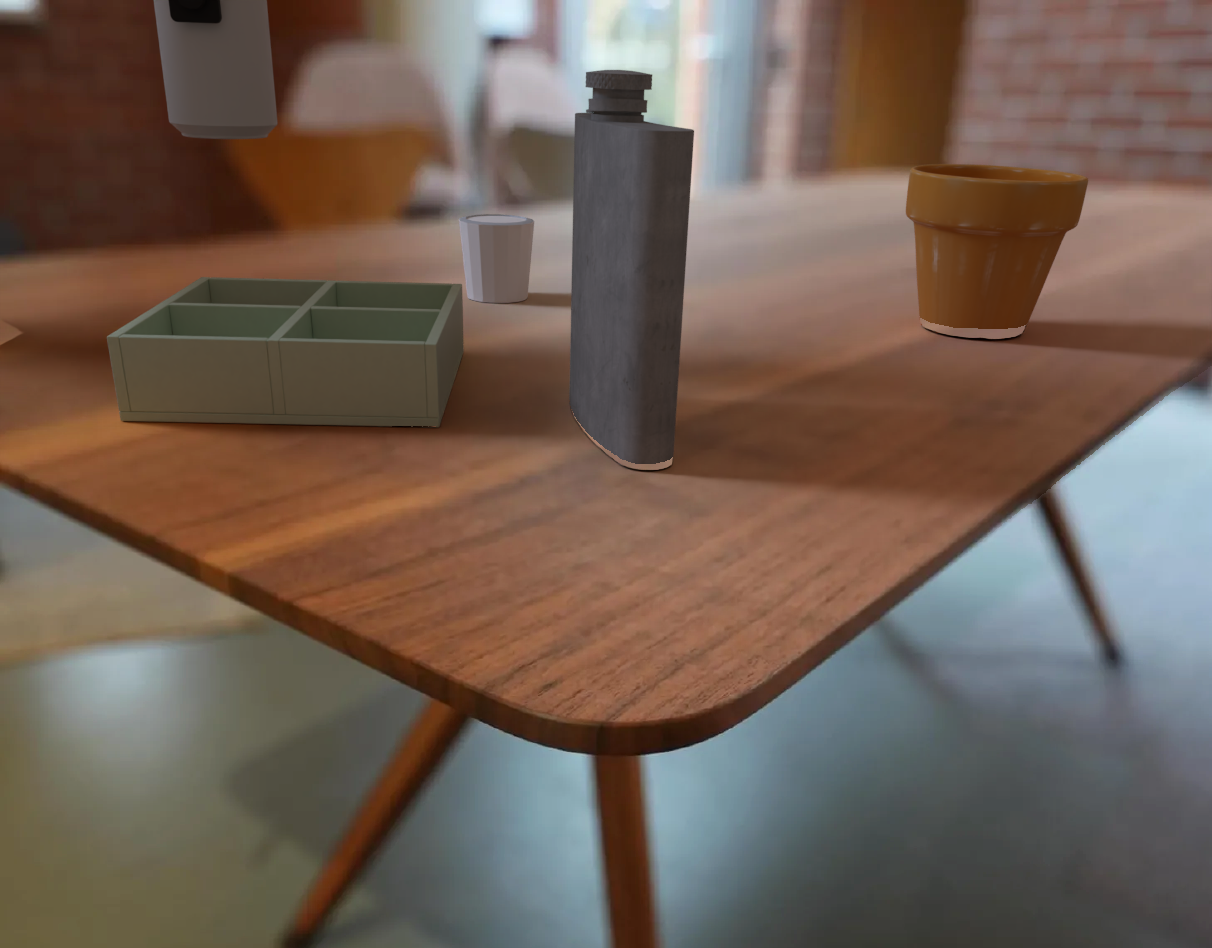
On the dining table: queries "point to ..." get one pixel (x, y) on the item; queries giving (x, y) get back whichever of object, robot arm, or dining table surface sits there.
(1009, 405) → the dining table surface
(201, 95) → the can
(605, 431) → the hip flask
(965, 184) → the flower pot
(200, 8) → the robot arm
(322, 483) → the dining table surface
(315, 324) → the compartment tray
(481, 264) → the shot glass
